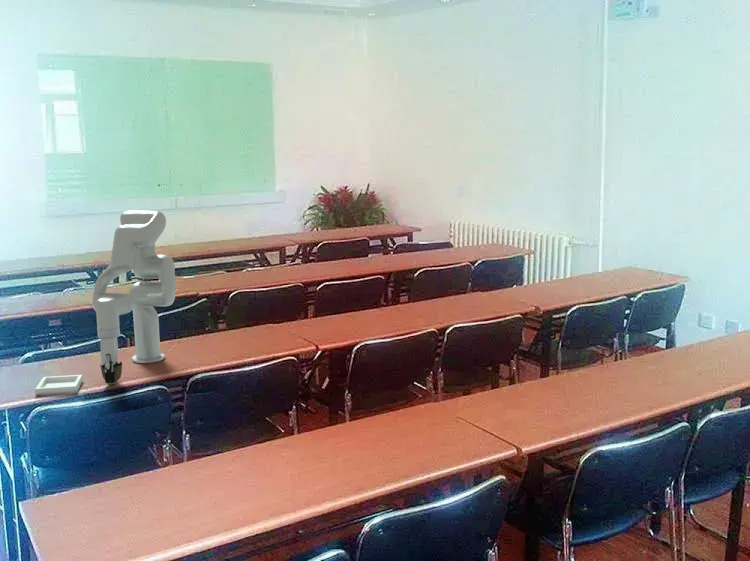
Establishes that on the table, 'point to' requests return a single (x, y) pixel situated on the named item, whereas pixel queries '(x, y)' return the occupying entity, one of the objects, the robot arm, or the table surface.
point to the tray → (59, 385)
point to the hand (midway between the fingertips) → (112, 378)
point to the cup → (116, 370)
